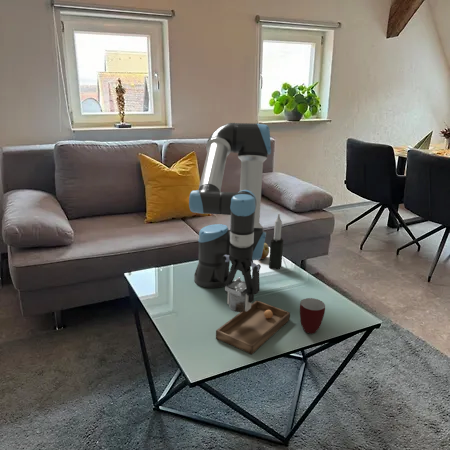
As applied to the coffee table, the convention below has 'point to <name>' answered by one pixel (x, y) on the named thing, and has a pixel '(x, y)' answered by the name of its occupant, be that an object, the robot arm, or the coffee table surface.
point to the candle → (276, 246)
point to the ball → (268, 314)
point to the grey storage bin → (237, 295)
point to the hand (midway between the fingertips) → (239, 305)
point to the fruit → (265, 251)
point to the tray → (252, 327)
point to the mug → (311, 314)
